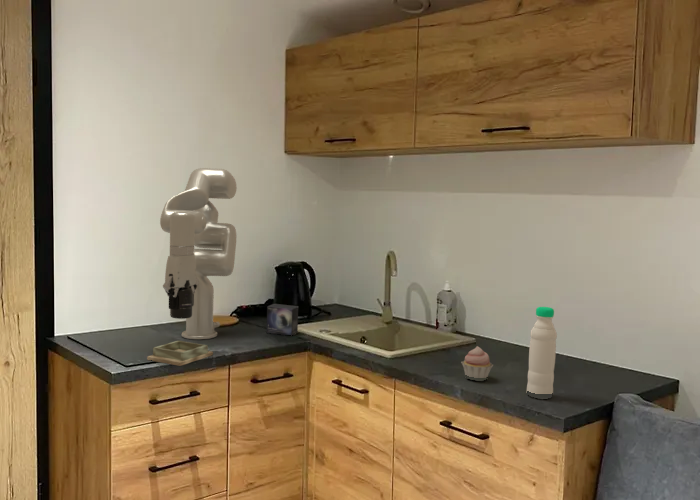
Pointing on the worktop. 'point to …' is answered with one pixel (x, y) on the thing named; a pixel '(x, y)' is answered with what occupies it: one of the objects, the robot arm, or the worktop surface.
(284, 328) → the small box
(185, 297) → the supplement bottle
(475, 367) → the cupcake
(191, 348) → the board
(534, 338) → the white milk bottle
